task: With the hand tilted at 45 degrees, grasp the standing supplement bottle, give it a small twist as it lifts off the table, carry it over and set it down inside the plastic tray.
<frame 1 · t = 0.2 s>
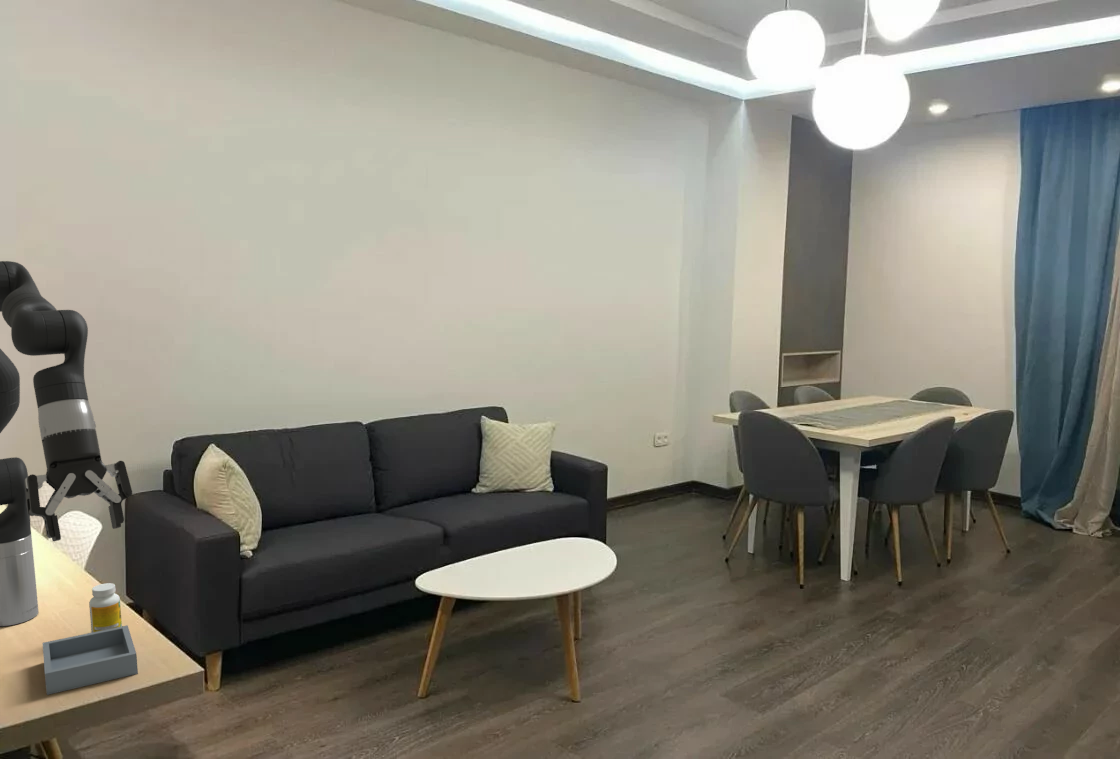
hand: (87, 534, 133), 31 cm above the table, tool tilted 20°, fingers open, 8 cm apart
supplement bottle: (107, 634, 170), on the table
tray: (90, 667, 155), on the table
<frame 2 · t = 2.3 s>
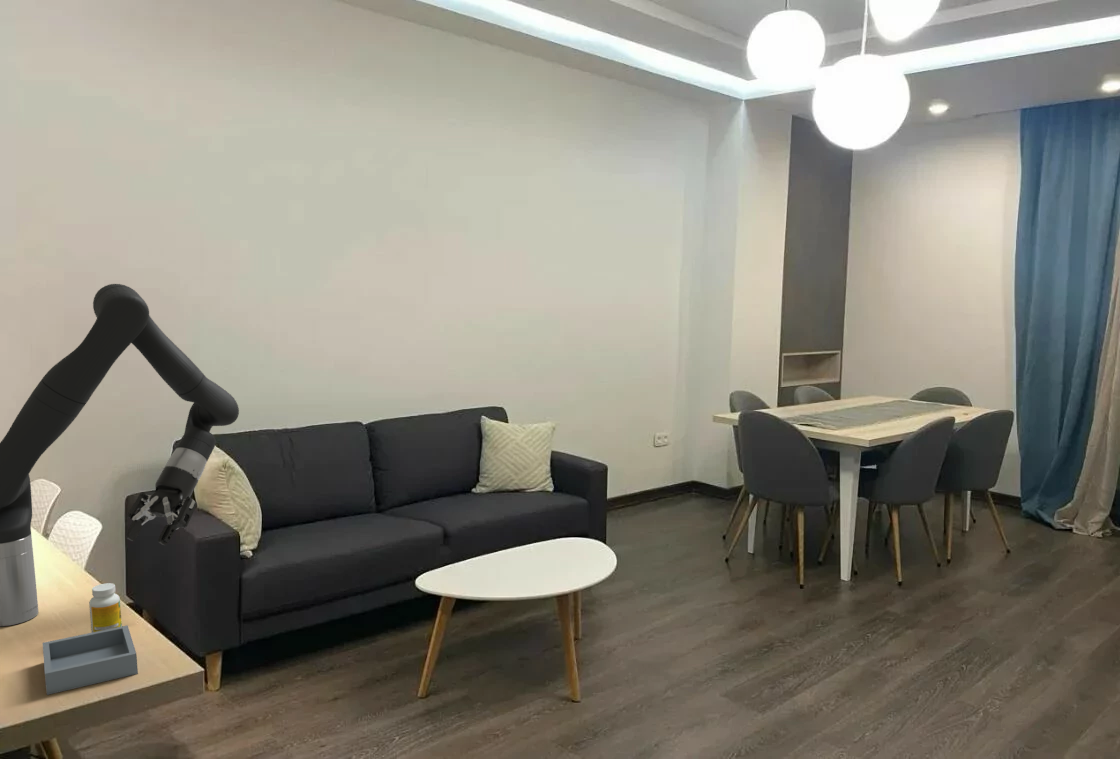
hand: (145, 541, 178), 15 cm above the table, tool tilted 45°, fingers open, 8 cm apart
nothing on the table moved.
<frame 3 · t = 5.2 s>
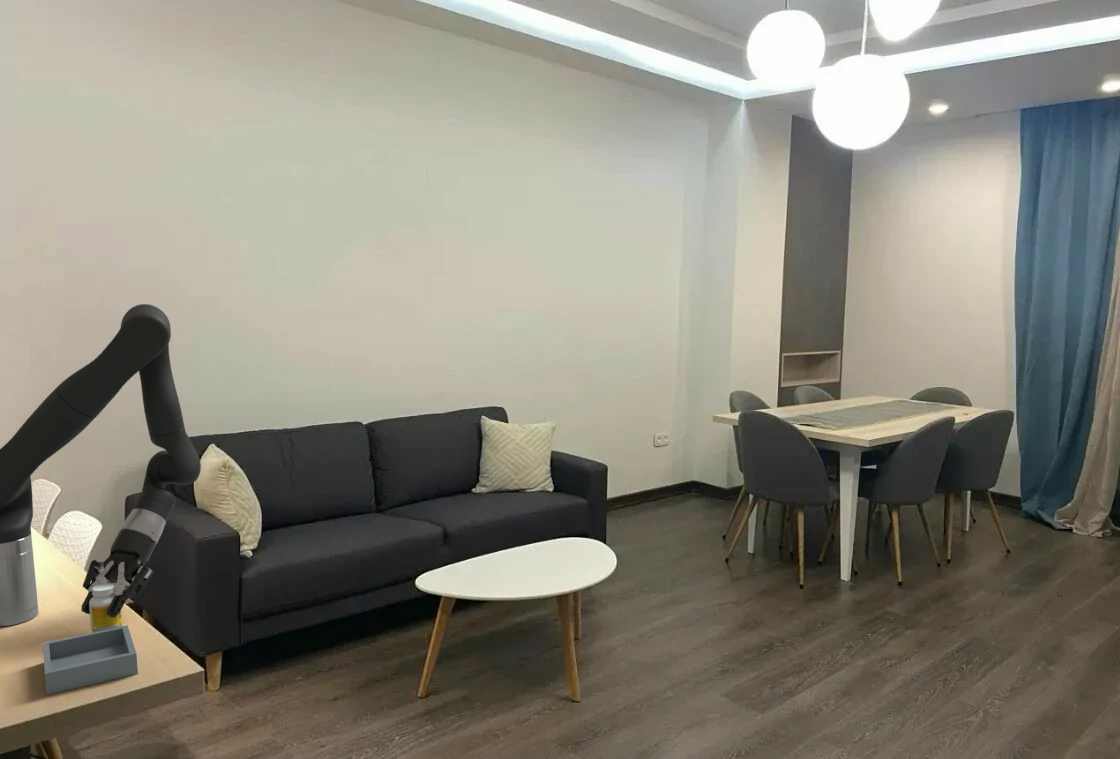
hand: (98, 613, 167), 5 cm above the table, tool tilted 45°, fingers closed on supplement bottle, 5 cm apart
supplement bottle: (107, 634, 170), on the table, touching gripper
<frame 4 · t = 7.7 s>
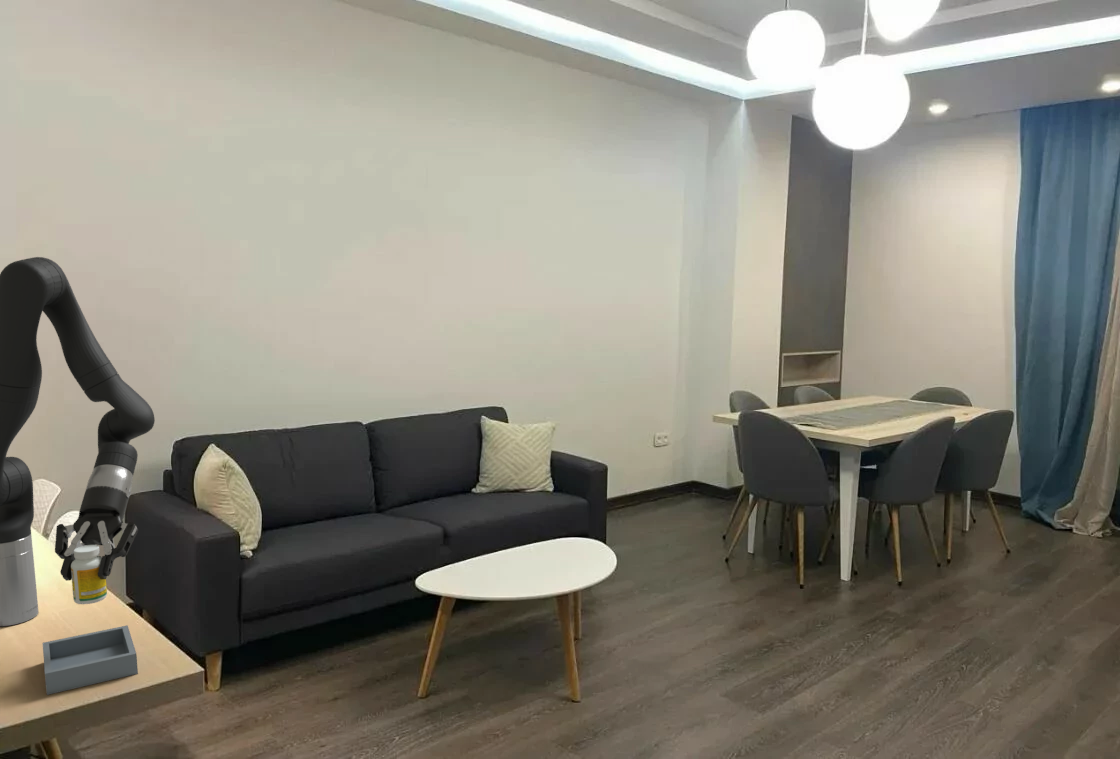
hand: (84, 577, 153), 17 cm above the table, tool tilted 45°, fingers closed on supplement bottle, 5 cm apart
supplement bottle: (91, 600, 155), point 12 cm above the table, touching gripper
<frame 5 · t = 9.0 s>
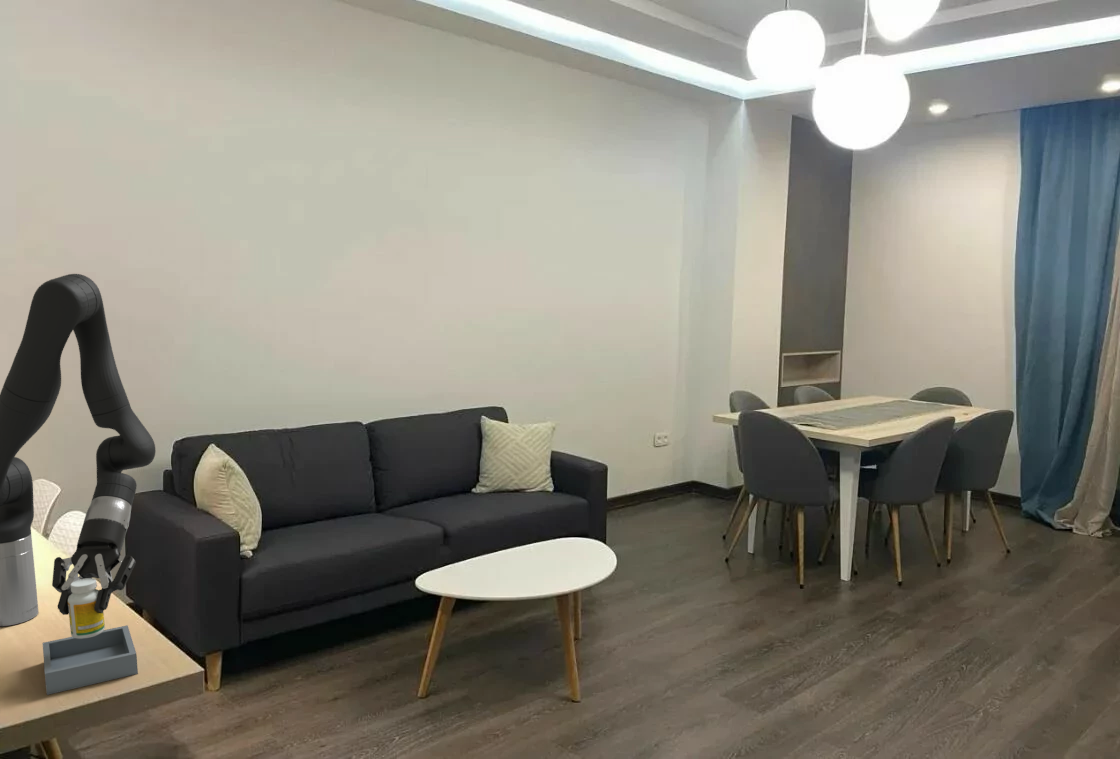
hand: (81, 612, 152), 11 cm above the table, tool tilted 45°, fingers closed on supplement bottle, 5 cm apart
supplement bottle: (88, 634, 154), point 6 cm above the table, touching gripper
when the fingers open (7 cm above the table, at t = 10.2 s): supplement bottle drops 1 cm, resting on tray.
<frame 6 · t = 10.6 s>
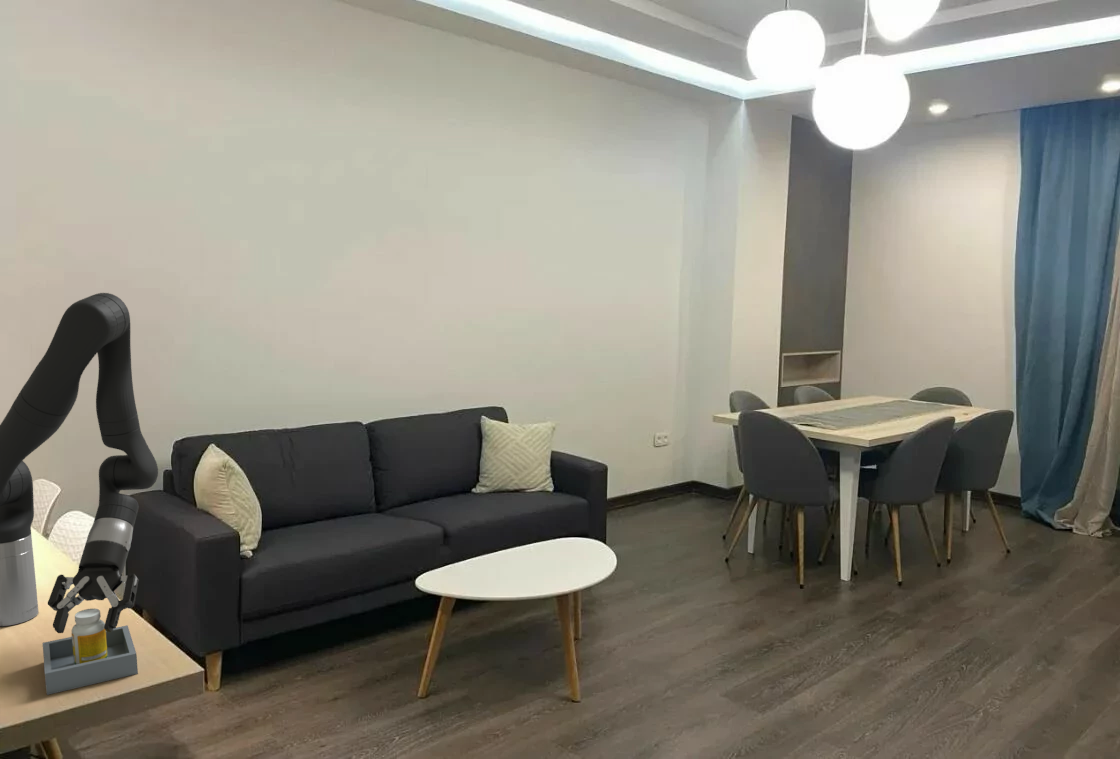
hand: (83, 631, 153), 8 cm above the table, tool tilted 45°, fingers open, 8 cm apart
supplement bottle: (91, 664, 155), point 1 cm above the table, touching tray
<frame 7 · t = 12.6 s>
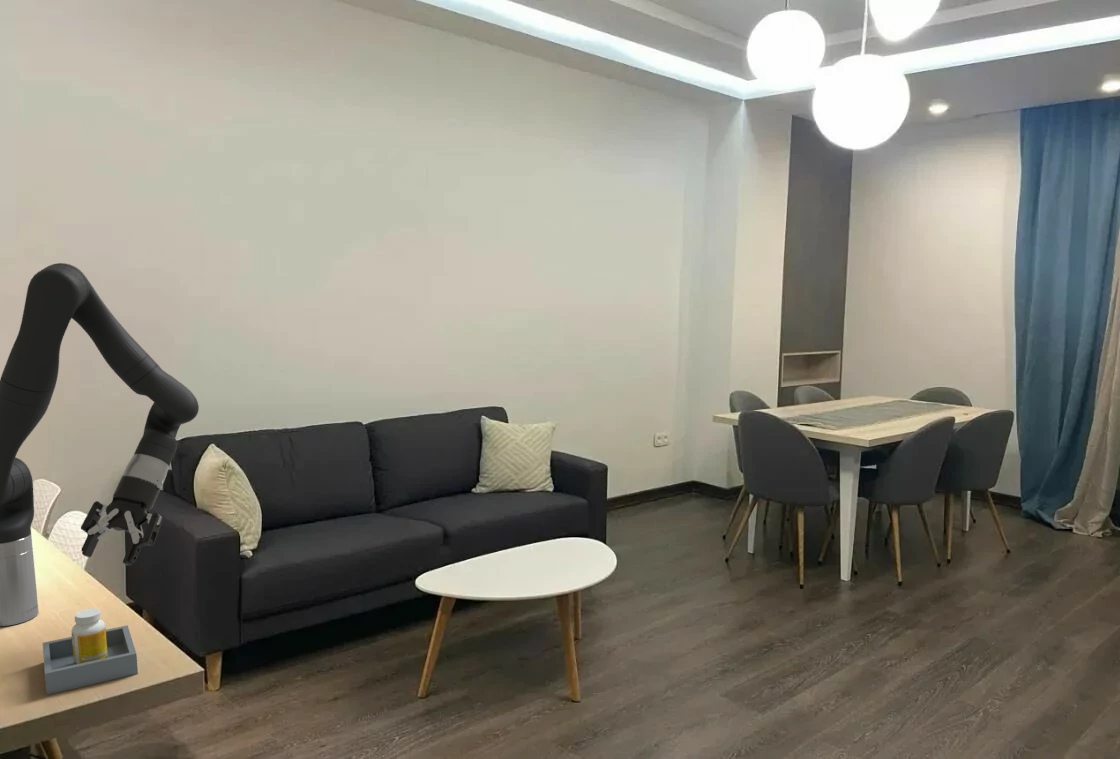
hand: (106, 560, 164), 16 cm above the table, tool tilted 35°, fingers open, 8 cm apart
nothing on the table moved.
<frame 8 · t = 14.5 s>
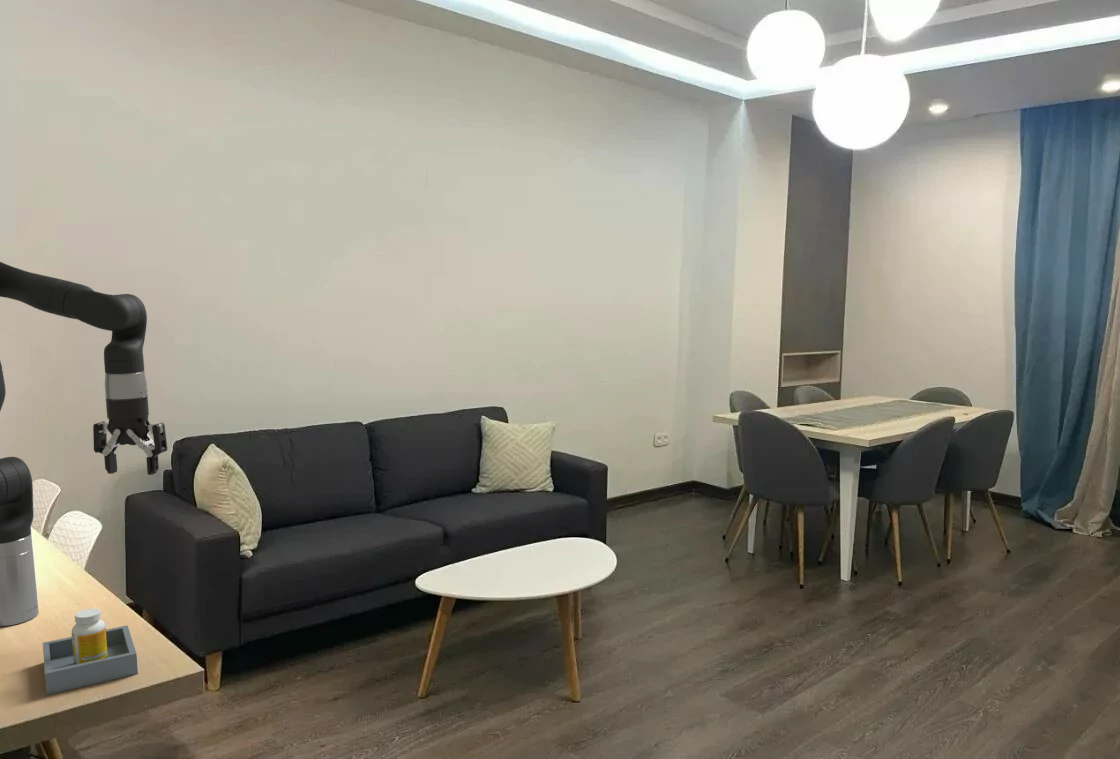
hand: (132, 473, 174), 30 cm above the table, tool pointing down, fingers open, 8 cm apart
nothing on the table moved.
at the end: supplement bottle inside the target area on the tray (0.2 cm from its centre), point 0.6 cm above the tray's base; supplement bottle tilted 0°; the gripper is holding nothing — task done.
